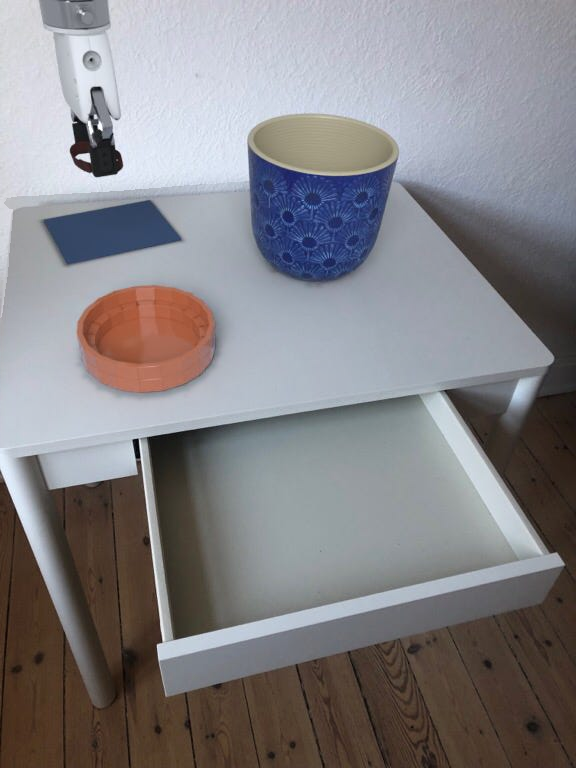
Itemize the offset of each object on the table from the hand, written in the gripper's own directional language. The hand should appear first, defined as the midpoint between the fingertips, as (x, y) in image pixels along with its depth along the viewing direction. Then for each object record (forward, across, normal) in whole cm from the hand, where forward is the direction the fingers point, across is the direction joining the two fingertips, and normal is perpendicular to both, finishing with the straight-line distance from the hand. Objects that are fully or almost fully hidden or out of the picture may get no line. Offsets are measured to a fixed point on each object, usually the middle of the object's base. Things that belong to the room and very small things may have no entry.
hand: (96, 162), depth 84 cm
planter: (+16, -11, -28) cm, 34 cm away
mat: (+16, +10, -3) cm, 19 cm away
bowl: (+16, -21, +2) cm, 27 cm away
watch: (+1, 0, 0) cm, 1 cm away
